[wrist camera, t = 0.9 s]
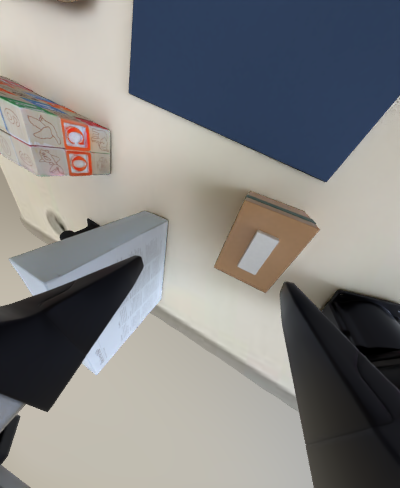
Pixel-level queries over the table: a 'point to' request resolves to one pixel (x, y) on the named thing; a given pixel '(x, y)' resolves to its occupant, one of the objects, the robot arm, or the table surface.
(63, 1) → the stone cup
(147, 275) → the skincare box
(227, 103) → the desk mat
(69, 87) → the table surface
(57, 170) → the stack of blocks
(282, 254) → the cardboard box
